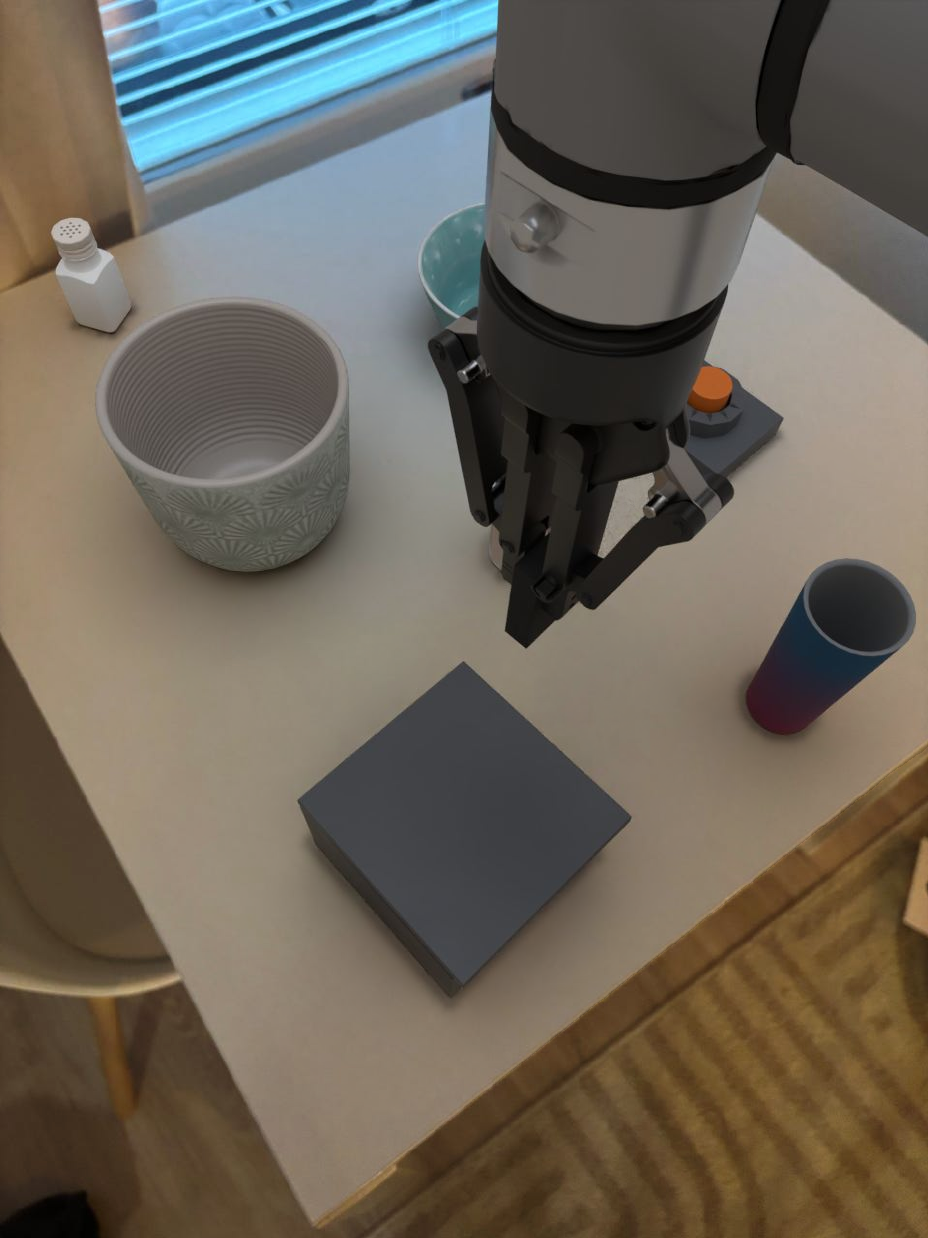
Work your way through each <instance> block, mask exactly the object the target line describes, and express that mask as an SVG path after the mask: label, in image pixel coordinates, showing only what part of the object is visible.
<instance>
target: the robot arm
mask: <svg viewBox="0 0 928 1238" xmlns="http://www.w3.org/2000/svg"><path fill="white" fill-rule="evenodd" d="M496 21H497V22H496V41H495V47H496V48H495V58H494V60H493V62H492V70H491V71H492V83H491V94H490V109H489V124H488V126H489V127H488V143H487V158H486V159H487V161H486V176H485V178H486V179H485V192H484V193H485V194H484V202H485V210H484V238H485V240H484V243H483V247H482V251H481V259H480V277H479V295H478V307H476V306H475V307H472V308H471V309H470V310H468V311H467V312H466V313H464V314H463V315H462V316H460V317H459V318H458V319H457V320H455V321H454V322H453V323H451V324H450V325H449V326H447V327H446V328H445V329H441V330H440V331H439V332H437V333H436V334H435V335H434V336H432V337H431V338H430V339H429V340H428V341H427V349H428V352H429V355H430V357H431V359H432V362H433V364H434V367H435V368H436V371H437V373H438V375H439V378H440V380H441V382H442V384H443V386H444V388H445V392H446V395H447V401H448V406H449V410H450V411H449V412H450V416H451V422H452V427H453V432H454V436H455V442H456V446H457V447H456V448H457V452H458V456H459V462H460V466H461V472H462V477H463V481H464V482H463V483H464V487H465V492H466V497H467V502H468V508H469V512H470V515H471V517H472V518H473V520H474V522H476V524H479V525H480V526H482V527H484V528H488V527H489V526H491V524H492V525H493V526H494V527H495V528H496V529H497V530H498V531H499V544H500V546H501V548H502V549H503V559H502V560H503V561H502V567H501V570H500V572H501V576H502V579H503V580H504V581H505V582H507V584H509V585H510V592H509V598H508V605H507V611H506V619H505V627H504V632H505V633H506V634H507V635H509V636H510V637H511V638H512V639H513V640H514V641H516V642H517V643H518V644H519V645H521V646H522V647H523V648H524V649H525V650H527V649H528V648H529V647H530V646H532V644H533V643H534V642H535V641H536V640H538V638H539V637H540V636H542V634H544V633H545V631H547V630H548V629H549V627H551V626H552V624H554V622H558V621H560V620H561V619H562V618H564V617H565V616H566V615H567V614H568V613H569V612H570V611H571V610H572V609H573V608H574V607H575V606H577V604H578V603H580V604H581V605H582V606H583V607H584V608H586V609H588V610H590V611H595V610H597V609H598V608H599V607H600V606H601V605H602V604H603V603H604V602H605V601H606V600H607V599H608V598H609V597H610V596H611V595H612V594H613V593H614V592H615V591H616V590H617V589H618V588H619V587H620V586H621V585H622V584H623V583H624V582H626V580H627V579H628V578H629V577H630V576H631V575H632V574H633V573H634V572H635V571H636V570H637V569H638V568H639V567H640V566H641V565H642V564H643V563H645V561H647V559H648V558H649V557H651V556H652V554H653V553H655V552H656V550H657V549H658V548H662V547H668V546H672V545H677V544H681V543H687V542H691V540H693V539H694V538H695V537H696V536H697V535H698V534H699V533H700V532H701V531H702V530H703V529H704V527H706V526H707V525H708V523H710V521H711V520H712V519H714V517H715V516H717V514H719V512H720V511H721V510H723V509H724V508H725V506H727V505H728V504H729V503H730V501H731V500H732V499H733V498H734V496H735V489H734V486H733V484H732V483H731V482H730V480H729V479H728V478H727V477H726V478H725V477H724V476H722V475H720V474H717V473H709V474H706V475H703V476H702V475H701V474H700V472H699V471H698V469H697V468H696V466H695V465H694V463H693V462H692V460H691V459H690V457H689V456H688V454H687V453H686V451H685V450H684V447H685V446H686V444H687V442H688V440H689V436H690V423H689V419H688V414H687V400H688V398H689V395H690V393H691V391H692V389H693V386H694V384H695V382H696V380H697V377H698V375H699V373H700V370H701V367H702V364H703V362H704V360H706V356H707V353H708V351H709V347H710V345H711V342H712V340H713V336H714V333H715V330H716V329H717V325H718V323H719V319H720V317H721V314H722V311H723V308H724V305H725V302H726V298H727V296H728V293H729V284H730V283H731V282H732V280H733V278H734V276H735V274H736V271H737V269H738V267H739V265H740V263H741V260H742V257H743V254H744V250H745V247H746V245H747V241H748V238H749V235H750V233H751V230H752V227H753V223H754V220H755V218H756V215H757V211H758V209H759V205H760V202H761V200H762V197H763V194H764V191H765V187H766V185H767V182H768V179H769V176H770V173H771V170H772V167H773V164H774V161H775V158H776V155H777V154H779V155H780V156H783V157H784V158H786V159H789V160H790V161H791V162H792V164H794V165H796V166H806V167H808V168H810V169H812V170H813V171H815V172H817V173H818V174H820V175H822V176H824V177H826V178H827V179H828V180H831V181H832V182H834V183H836V184H837V185H839V186H841V187H842V188H844V189H846V190H847V191H850V192H851V193H853V194H854V195H856V196H858V197H859V198H861V199H863V200H864V201H866V202H868V203H870V204H871V205H873V206H875V207H876V208H878V209H880V210H882V211H883V212H884V213H886V214H888V215H890V216H892V217H894V218H895V219H896V220H898V221H900V222H902V223H903V224H905V225H907V226H908V227H910V228H912V229H913V230H915V231H917V232H919V233H921V234H922V235H924V236H925V237H927V238H928V0H497V20H496ZM649 474H652V476H653V481H654V483H653V485H652V486H651V487H650V488H649V489H648V491H647V497H648V502H646V503H645V504H644V505H643V507H642V513H643V516H642V517H641V518H640V519H639V520H637V522H636V523H635V524H634V525H633V526H632V527H630V528H629V530H628V531H627V532H626V533H624V535H623V536H622V537H621V538H620V540H619V541H618V542H617V543H616V544H615V545H614V546H613V548H611V550H610V551H609V552H608V553H607V554H606V555H605V556H604V557H601V556H599V552H600V549H601V545H602V542H603V538H604V535H605V531H606V528H607V524H608V521H609V518H610V514H611V510H612V507H613V504H614V499H615V496H616V494H617V489H618V486H619V482H621V481H627V480H630V479H633V478H637V477H640V476H646V475H649ZM497 480H498V483H497V484H496V485H495V482H496V481H497ZM550 527H551V531H550V532H549V533H548V534H547V535H546V536H545V532H546V531H547V530H548V529H549V528H550Z"/></svg>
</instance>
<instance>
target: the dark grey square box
mask: <svg viewBox="0 0 928 1238" xmlns="http://www.w3.org/2000/svg"><path fill="white" fill-rule="evenodd" d="M299 808H300V810H301V812H302V815H303V817H304V820H305V822H306V824H307V825H306V826H307V827H308V829H309V832H310V835H311V836H312V839H313V842H314V844H315V845H316V847H317V848H318V849H320V851H321V852H322V854H323V855H324V856H325V857H326V858H327V859H328V860H329V861H330V863H331V864H332V865H333V866H334V867H335V869H337V870H338V872H339V873H340V875H342V877H344V879H345V880H346V881H347V882H348V883H349V885H351V887H352V888H353V889H354V890H355V891H356V892H357V894H358V895H359V896H360V897H361V898H362V900H364V902H365V903H366V904H367V905H368V907H370V909H372V911H373V912H374V913H375V914H376V915H377V916H378V918H379V919H380V921H382V922H383V923H384V925H385V926H386V927H387V929H389V930H390V931H391V933H392V934H393V935H394V936H395V937H396V939H397V940H398V941H399V942H400V943H401V944H402V946H403V947H405V949H406V950H407V951H408V952H409V953H410V954H411V956H412V957H413V958H414V959H415V960H416V961H417V963H418V964H419V965H420V966H421V967H422V968H423V969H424V971H425V972H426V973H427V974H428V975H429V977H430V978H431V979H432V980H433V981H434V982H435V983H436V984H437V986H438V987H440V989H441V990H442V991H443V992H444V993H445V995H446V996H447V998H448V999H452V998H453V997H454V996H455V995H456V994H457V993H458V992H459V991H460V990H461V989H462V987H461V985H460V984H459V983H458V982H457V981H456V980H455V979H454V978H453V977H452V975H451V974H450V973H449V972H448V971H447V970H446V969H445V968H444V966H443V965H442V964H441V963H440V962H439V961H438V960H437V959H436V957H435V956H434V955H433V954H432V953H431V952H430V951H429V950H428V949H427V947H426V946H425V945H424V944H423V943H422V942H421V941H420V940H419V938H418V937H417V936H416V935H415V934H414V933H413V932H412V931H411V929H410V928H409V927H408V926H407V925H406V924H405V923H404V922H403V921H402V919H401V918H400V917H399V916H398V915H397V914H396V913H395V912H394V910H393V909H392V908H391V907H390V906H389V905H388V904H387V903H386V901H385V900H384V899H383V898H382V897H381V896H380V895H379V894H378V893H377V891H376V890H375V889H374V888H373V887H372V886H371V885H370V884H369V882H368V881H367V880H366V879H365V878H364V877H363V876H362V875H361V873H360V872H359V871H358V870H357V869H356V868H355V867H354V866H353V865H352V863H351V862H350V861H349V860H348V859H347V858H346V857H345V856H344V854H343V853H342V852H341V851H340V850H339V849H338V848H337V847H336V845H335V844H334V843H333V842H332V841H331V840H330V839H329V838H328V837H327V835H326V834H325V833H324V832H323V831H322V830H321V829H320V828H319V826H318V825H317V824H316V823H315V822H314V821H313V820H312V819H311V817H310V816H309V815H308V814H307V813H306V812H305V811H304V810H303V809H302V807H301V806H300V805H299Z"/></svg>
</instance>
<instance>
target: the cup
mask: <svg viewBox="0 0 928 1238" xmlns="http://www.w3.org/2000/svg"><path fill="white" fill-rule="evenodd" d="M916 624H917V612H916V606H915V603H914V601H913V598H912V596H911V594H910V593H909V591H908V589H907V588H906V586H905V585H904V584H903V583H902V582H901V581H900V580H899V579H898V578H897V577H896V576H895V575H894V574H892V573H891V572H890V571H888V570H887V569H885V568H883V567H882V566H880V565H878V564H875V563H874V562H870V561H868V560H863V559H859V558H849V557H847V558H845V557H844V558H837V559H833V560H829V561H826V562H824V563H823V564H821V565H819V566H817V568H816V569H815V570H813V571H812V572H811V573H810V574H809V576H808V578H807V579H806V581H805V583H804V585H803V586H802V588H801V590H800V592H799V594H798V595H797V598H796V599H795V601H794V603H793V605H792V607H791V609H790V611H789V612H788V614H787V615H786V617H785V619H784V621H783V623H782V625H781V627H780V629H779V631H778V632H777V634H776V636H775V638H774V639H773V641H772V643H771V645H770V646H769V649H768V651H767V653H766V654H765V656H764V658H763V660H762V662H761V663H760V665H759V667H758V668H757V671H756V673H755V675H754V677H753V678H752V680H751V682H750V684H749V685H748V688H747V690H746V695H745V696H746V697H745V699H746V700H745V701H746V706H747V709H748V712H749V714H750V716H751V717H752V718H753V720H754V721H755V722H756V723H757V724H758V725H759V726H760V727H762V728H764V729H765V730H767V731H769V732H770V733H774V734H778V735H787V736H788V735H794V734H797V733H799V732H801V731H803V730H804V729H806V728H807V727H808V726H809V725H810V724H812V723H813V722H814V721H815V720H816V719H818V718H819V717H820V716H821V715H823V714H824V713H825V712H826V711H827V710H828V709H830V708H831V707H832V706H833V705H834V704H836V703H837V702H838V701H839V700H840V699H842V698H843V697H844V696H845V695H846V694H848V693H849V692H851V691H852V690H853V688H855V687H856V686H857V685H858V684H860V683H861V682H862V681H863V680H865V679H866V678H867V677H868V676H869V675H871V674H872V673H873V672H874V671H876V669H877V668H879V667H881V665H883V663H885V662H886V661H887V660H889V659H890V658H891V657H892V656H893V655H895V653H897V652H898V651H899V650H901V648H903V647H904V646H905V645H906V644H907V643H908V642H909V640H910V639H911V637H912V636H913V634H914V632H915V628H916Z"/></svg>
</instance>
